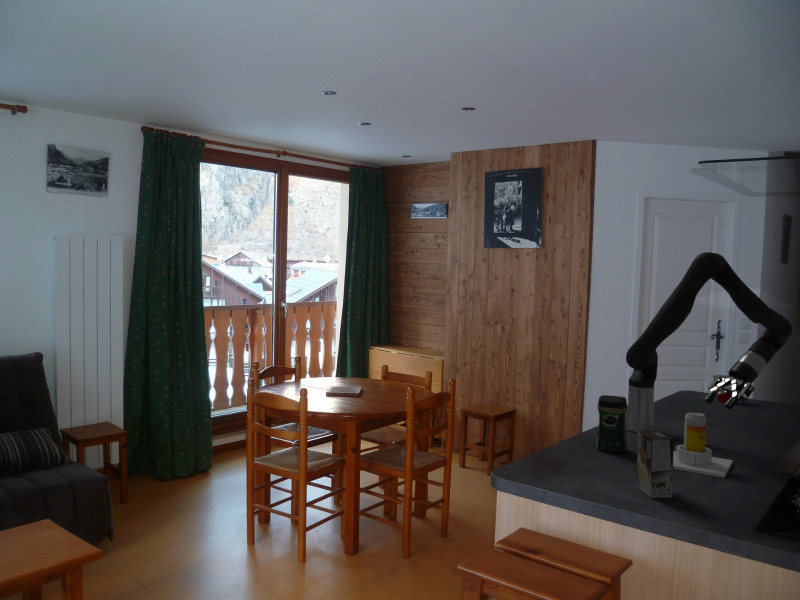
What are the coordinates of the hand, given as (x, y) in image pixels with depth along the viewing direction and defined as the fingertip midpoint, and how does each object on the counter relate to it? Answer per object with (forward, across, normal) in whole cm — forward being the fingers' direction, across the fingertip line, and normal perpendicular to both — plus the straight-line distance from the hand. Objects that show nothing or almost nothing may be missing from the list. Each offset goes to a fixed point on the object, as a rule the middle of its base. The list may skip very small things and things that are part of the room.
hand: (716, 405), depth 204 cm
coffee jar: (+30, -20, -4) cm, 37 cm away
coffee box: (+40, +20, -13) cm, 46 cm away
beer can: (+18, 0, +7) cm, 19 cm away
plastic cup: (-42, -82, +69) cm, 115 cm away
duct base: (+19, 0, +8) cm, 20 cm away
